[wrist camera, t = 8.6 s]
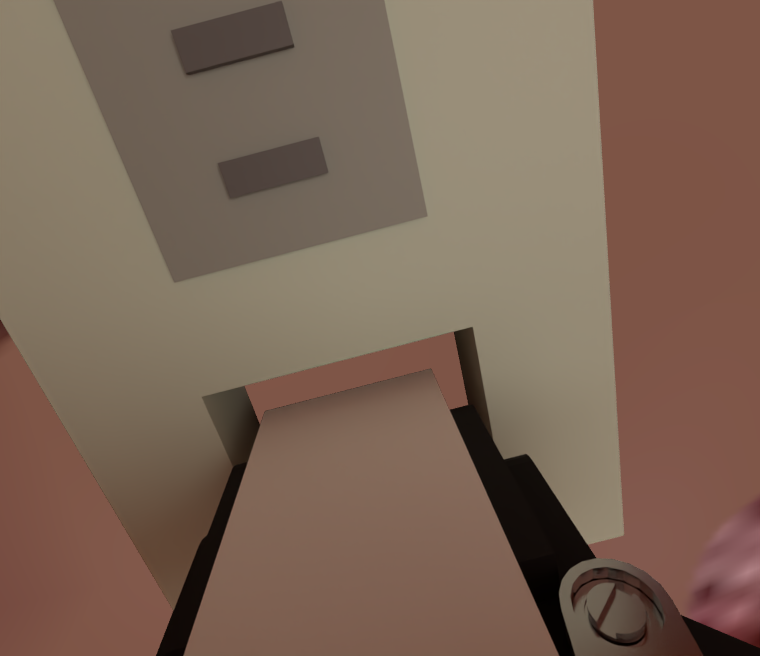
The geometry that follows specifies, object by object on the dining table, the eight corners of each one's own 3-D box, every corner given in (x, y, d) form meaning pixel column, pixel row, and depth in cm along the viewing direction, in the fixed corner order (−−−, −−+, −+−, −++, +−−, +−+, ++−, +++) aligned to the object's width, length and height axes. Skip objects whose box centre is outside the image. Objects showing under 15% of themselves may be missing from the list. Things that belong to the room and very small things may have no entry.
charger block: (265, 411, 10) (98, 908, 3) (431, 368, 10) (615, 783, 3) (314, 538, 11) (271, 1072, 5) (460, 500, 11) (633, 985, 5)
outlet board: (-80, -16, 9) (-272, -101, 6) (510, -176, 8) (586, -336, 6) (218, 565, 14) (189, 656, 11) (577, 474, 14) (631, 545, 11)
